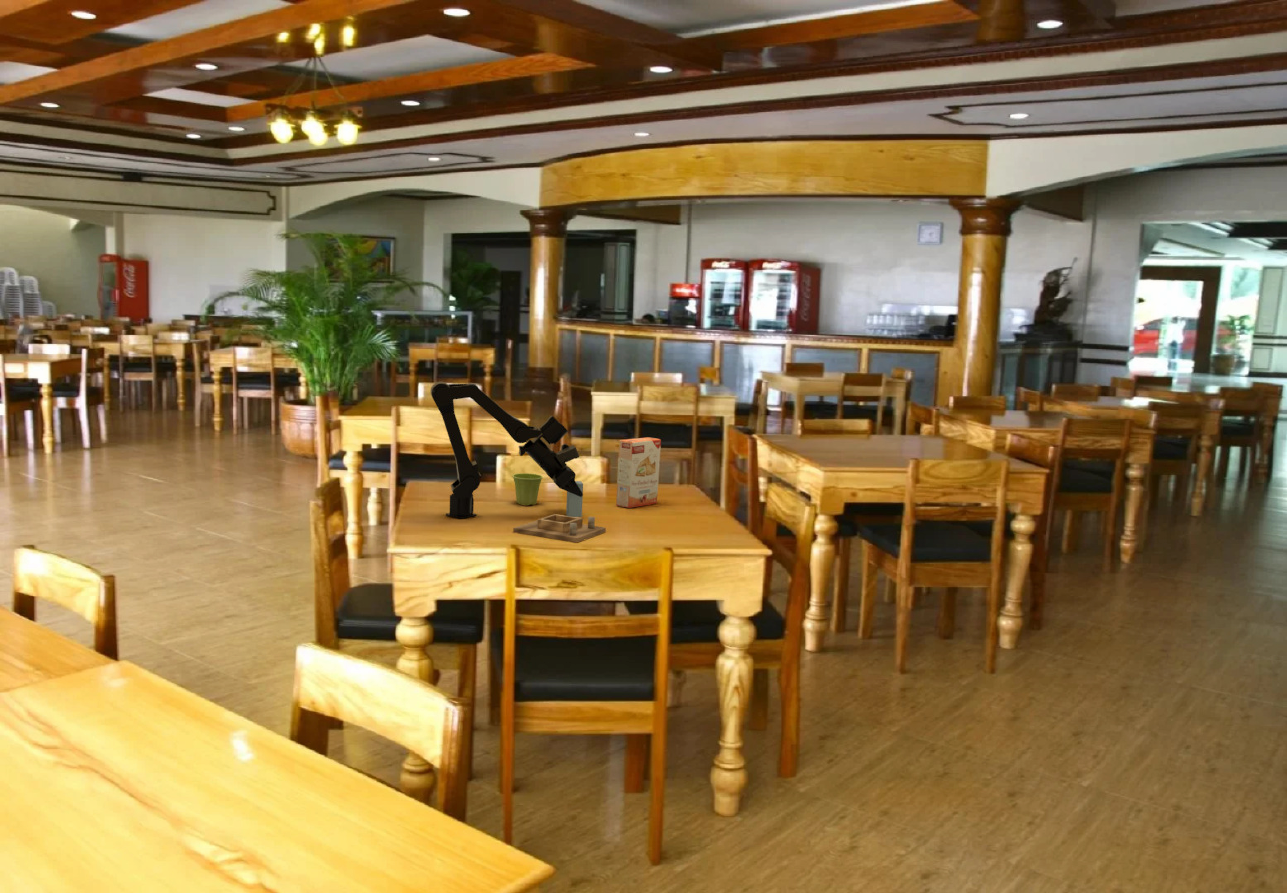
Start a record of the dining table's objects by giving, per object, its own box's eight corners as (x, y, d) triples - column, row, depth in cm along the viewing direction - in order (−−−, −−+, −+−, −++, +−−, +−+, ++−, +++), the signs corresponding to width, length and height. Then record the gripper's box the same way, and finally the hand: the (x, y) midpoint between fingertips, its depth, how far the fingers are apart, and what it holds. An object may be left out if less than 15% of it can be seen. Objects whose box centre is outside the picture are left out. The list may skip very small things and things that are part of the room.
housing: (513, 532, 293) (513, 517, 292) (543, 522, 307) (544, 507, 307) (577, 542, 284) (577, 527, 284) (605, 531, 299) (606, 517, 298)
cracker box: (629, 509, 331) (632, 442, 328) (615, 506, 335) (618, 439, 332) (658, 503, 342) (662, 438, 339) (644, 500, 346) (647, 436, 343)
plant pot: (544, 501, 337) (545, 474, 335) (538, 507, 327) (539, 479, 326) (515, 499, 338) (516, 472, 336) (508, 505, 328) (509, 477, 327)
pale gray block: (568, 517, 316) (569, 483, 314) (566, 514, 320) (567, 481, 318) (581, 517, 317) (583, 483, 315) (579, 514, 320) (580, 481, 319)
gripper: (568, 441, 305) (605, 479, 309) (557, 432, 323) (592, 468, 327) (540, 468, 304) (577, 506, 308) (531, 457, 322) (566, 494, 326)
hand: (579, 492), depth 317 cm, fingers open, 9 cm apart
